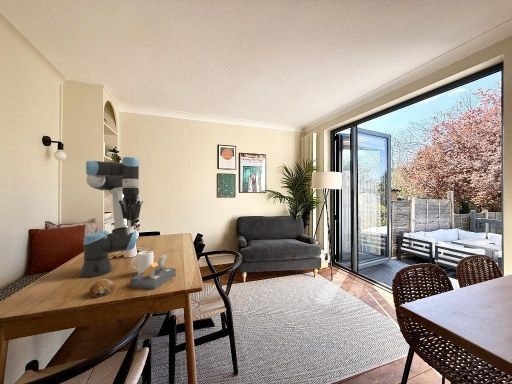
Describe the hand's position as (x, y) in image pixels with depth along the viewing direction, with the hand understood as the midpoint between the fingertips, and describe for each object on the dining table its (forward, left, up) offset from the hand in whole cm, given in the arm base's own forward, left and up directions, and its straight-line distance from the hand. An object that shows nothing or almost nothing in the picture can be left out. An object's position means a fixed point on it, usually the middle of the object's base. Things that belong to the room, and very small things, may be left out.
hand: (130, 232), depth 116 cm
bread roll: (-5, -13, -27) cm, 30 cm away
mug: (-4, +13, -27) cm, 30 cm away
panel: (+10, +5, -26) cm, 29 cm away
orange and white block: (+9, 0, -21) cm, 23 cm away
